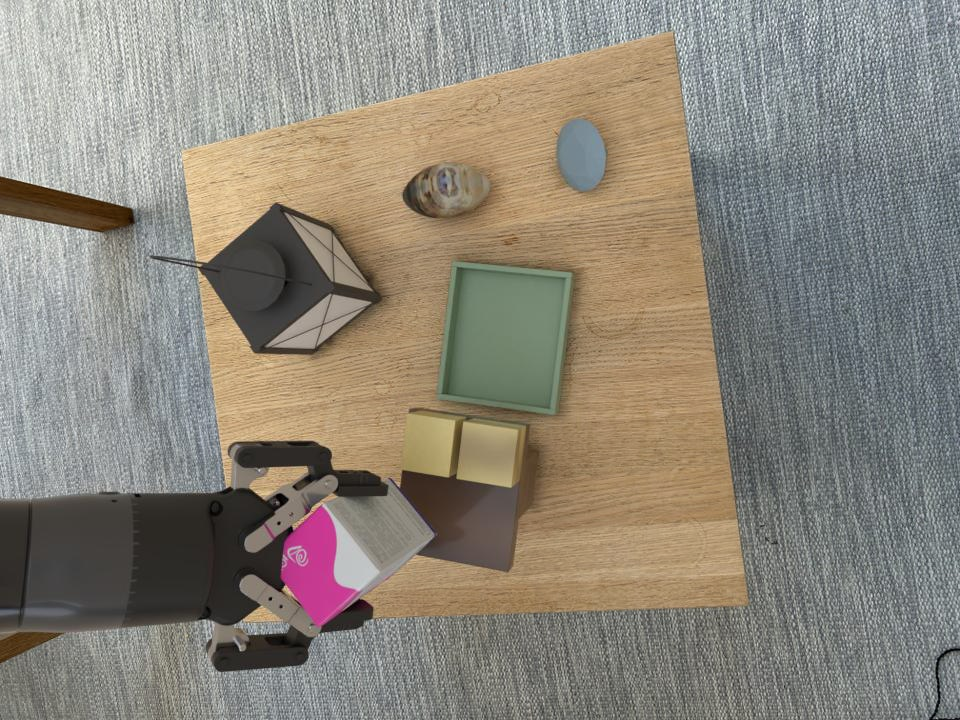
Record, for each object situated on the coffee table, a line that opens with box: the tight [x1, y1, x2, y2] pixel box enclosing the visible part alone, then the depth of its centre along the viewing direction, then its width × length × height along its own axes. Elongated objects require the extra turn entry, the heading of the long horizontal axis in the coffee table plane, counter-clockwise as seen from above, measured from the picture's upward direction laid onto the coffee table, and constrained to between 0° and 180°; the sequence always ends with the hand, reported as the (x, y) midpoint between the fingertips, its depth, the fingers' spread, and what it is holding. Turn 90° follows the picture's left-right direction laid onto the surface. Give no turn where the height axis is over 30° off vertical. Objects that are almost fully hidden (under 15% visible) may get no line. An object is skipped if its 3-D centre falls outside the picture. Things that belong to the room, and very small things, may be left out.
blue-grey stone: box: [555, 117, 608, 193], centre depth 82 cm, size 8×8×5 cm
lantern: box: [149, 201, 383, 356], centre depth 77 cm, size 11×11×28 cm
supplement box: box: [281, 477, 437, 627], centre depth 53 cm, size 6×6×12 cm
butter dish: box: [435, 260, 576, 416], centre depth 84 cm, size 15×13×3 cm
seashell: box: [401, 162, 491, 219], centre depth 83 cm, size 10×6×8 cm, turn 98°
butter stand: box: [399, 407, 540, 573], centre depth 73 cm, size 12×10×26 cm
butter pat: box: [400, 411, 466, 477], centre depth 62 cm, size 4×4×4 cm
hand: (376, 547), depth 52 cm, fingers closed on supplement box, 8 cm apart
